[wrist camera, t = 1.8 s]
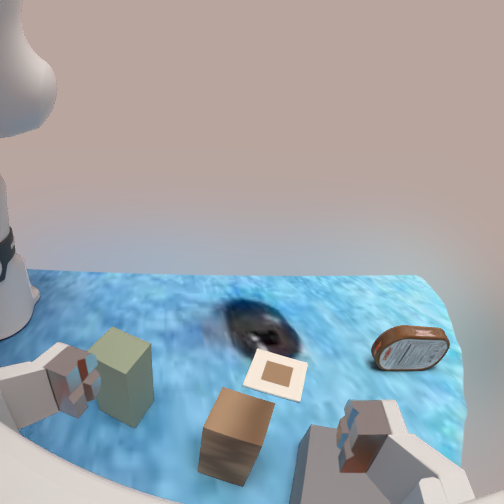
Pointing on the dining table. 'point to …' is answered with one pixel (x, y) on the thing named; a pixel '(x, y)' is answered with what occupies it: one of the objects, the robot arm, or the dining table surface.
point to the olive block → (124, 376)
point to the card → (276, 375)
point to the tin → (410, 348)
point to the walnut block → (233, 436)
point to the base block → (328, 474)
